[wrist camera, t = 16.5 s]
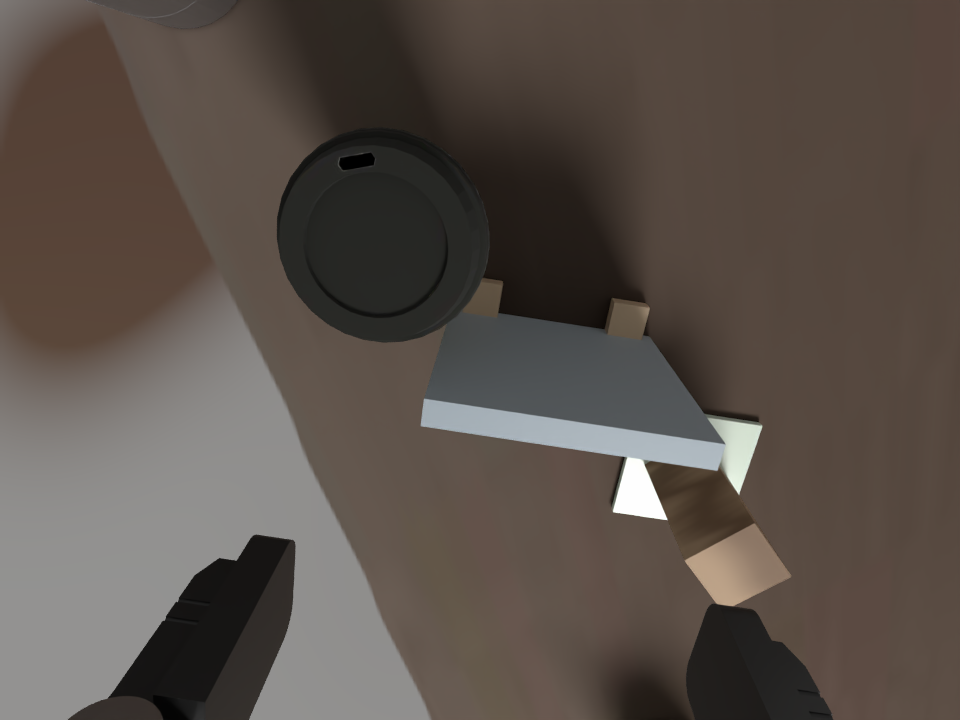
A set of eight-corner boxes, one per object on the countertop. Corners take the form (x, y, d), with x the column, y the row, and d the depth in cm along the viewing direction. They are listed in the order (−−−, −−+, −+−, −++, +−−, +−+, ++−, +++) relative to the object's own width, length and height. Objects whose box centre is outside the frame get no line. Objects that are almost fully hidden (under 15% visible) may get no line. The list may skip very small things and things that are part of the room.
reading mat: (611, 507, 48) (612, 511, 48) (638, 403, 45) (640, 407, 44) (724, 524, 48) (727, 529, 48) (759, 422, 45) (762, 426, 45)
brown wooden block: (675, 507, 47) (723, 612, 37) (644, 464, 46) (684, 560, 36) (728, 478, 46) (792, 577, 36) (697, 433, 45) (755, 523, 35)
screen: (445, 355, 44) (415, 468, 29) (456, 273, 42) (430, 351, 27) (636, 384, 45) (703, 511, 30) (657, 305, 42) (740, 399, 27)
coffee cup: (364, 290, 43) (296, 367, 29) (330, 142, 40) (234, 148, 26) (504, 269, 42) (503, 338, 28) (481, 116, 39) (468, 107, 25)
